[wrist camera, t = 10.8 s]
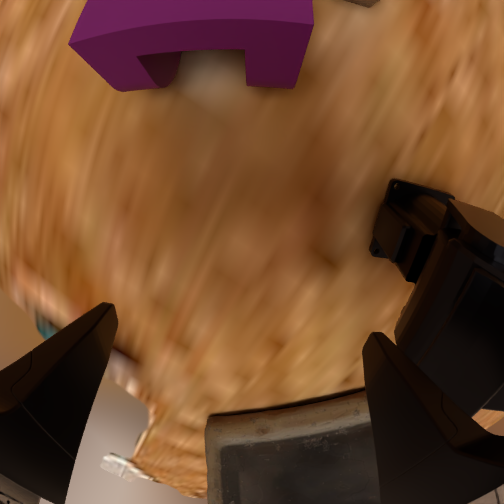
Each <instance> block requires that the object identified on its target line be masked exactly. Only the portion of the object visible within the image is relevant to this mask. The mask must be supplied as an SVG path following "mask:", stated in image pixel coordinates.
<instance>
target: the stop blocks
mask: <svg viewBox="0 0 504 504" xmlns="http://www.w3.org/2000/svg"><path fill="white" fill-rule="evenodd" d="M345 1H349V2H353V3H356V4H359V5H362V6H366V7H371V6H372V5H374V4H375V3H377V2H378V1H380V0H345Z"/></svg>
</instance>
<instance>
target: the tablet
mask: <svg viewBox="0 0 504 504" xmlns="http://www.w3.org/2000/svg"><path fill="white" fill-rule="evenodd" d="M205 453H206V463H207V470H208V471H207V483H208V488H207V499H208V504H381V501H380V490H379V488H380V487H379V478H378V469H377V461H376V453H375V446H374V439H373V432H372V426H371V419H370V413H369V407H368V402H367V396H366V390H364V391H361V392H358V393H355V394H351V395H348V396H344V397H340V398H336V399H332V400H327V401H323V402H319V403H314V404H309V405H304V406H298V407H292V408H286V409H279V410H268V411H263V412H258V413H249V414H242V415H233V416H213V417H210V418H208V419H207V425H206V428H205Z"/></svg>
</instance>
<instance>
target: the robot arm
mask: <svg viewBox="0 0 504 504" xmlns="http://www.w3.org/2000/svg"><path fill="white" fill-rule="evenodd" d="M396 183H398V186H397V187H396V188H394V185H395V184H396ZM373 235H374V236H373V239H372V242H371V245H370V249H369V251H370V253H371V255H372V256H374V257H380V258H388V259H390V261H391V262H392V263H395V264H396V266H397V267H398V269H399V270H400V272H401V273H402V275H403V277H404V278H405V280H406V281H407V282H413V284H414V285H415V287H414V289H413V291H412V293H411V295H410V297H409V300H408V302H407V304H406V305H405V306H404V307H403V309H402V311H401V315H400V317H399V319H398V321H397V323H396V327H395V330H394V334H395V340H396V344H397V345H395V344H394V343H393V342H392V341H391V340H390V339H389V338H388V337H387V336H386V335H385V334H383V333H382V332H372V333H371V334H370V335H369V337H368V339H367V341H366V343H365V345H364V347H363V350H362V356H363V367H364V380H365V390H366V396H367V402H368V407H369V413H370V419H371V426H372V432H373V439H374V446H375V453H376V461H377V469H378V478H379V487H380V488H379V490H380V501H381V504H504V436H498V435H494V434H492V433H490V432H488V431H486V430H485V429H484V428H483V427H481V426H480V425H479V424H478V423H477V422H476V421H474V420H473V419H472V417H473V416H474V415H475V414H476V413H477V412H478V411H479V410H480V409H486V410H495V411H504V219H502V218H501V217H499V216H498V215H496V214H495V213H493V212H490V211H487V210H484V209H481V208H478V207H475V206H472V205H469V204H466V203H463V202H460V201H457V200H455V197H454V196H453V195H451V194H450V193H446V192H443V191H440V190H436V189H433V188H429V187H426V186H422V185H419V184H415V183H411V182H408V181H404V180H400V179H392V180H391V181H390V183H389V186H388V190H387V193H386V197H385V201H384V203H383V204H382V205H381V207H380V211H379V214H378V218H377V221H376V224H375V227H374V230H373ZM375 249H378V250H377V251H375V252H374V250H375ZM117 328H118V318H117V314H116V309H115V306H114V304H112V303H107V302H102V303H101V304H99V305H97V306H96V307H94V308H93V309H91V310H90V311H88V312H87V313H85V314H84V315H82V316H81V317H79V318H78V319H76V320H75V321H73V322H72V323H70V324H69V325H68V326H66V327H65V328H63V329H62V330H60V331H59V332H57V333H56V334H54V335H53V336H51V337H50V338H49V339H47V340H46V341H44V342H43V343H41V344H40V345H38V346H37V347H36V348H34V349H33V350H32V351H30V352H28V353H27V354H26V355H24V356H23V357H21V358H20V359H18V360H17V361H15V362H14V363H12V364H11V365H9V366H7V367H6V368H4V369H3V370H1V371H0V504H39V502H40V498H41V497H42V498H43V499H46V500H48V501H50V502H52V503H54V504H65V500H66V496H67V491H68V487H69V483H70V479H71V475H72V471H73V468H74V464H75V460H76V456H77V453H78V449H79V446H80V443H81V439H82V436H83V433H84V430H85V426H86V423H87V420H88V417H89V414H90V411H91V408H92V405H93V402H94V399H95V397H96V394H97V391H98V388H99V385H100V383H101V380H102V377H103V375H104V372H105V369H106V367H107V364H108V361H109V357H110V353H111V350H112V346H113V342H114V339H115V335H116V331H117Z"/></svg>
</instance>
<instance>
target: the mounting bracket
mask: <svg viewBox="0 0 504 504" xmlns="http://www.w3.org/2000/svg"><path fill="white" fill-rule="evenodd" d="M313 26H314V20H313V6H312V0H88V1H87V3H86V5H85V7H84V9H83V11H82V13H81V15H80V17H79V19H78V22H77V24H76V26H75V29H74V31H73V33H72V36H71V38H70V41H69V43H68V45H69V46H70V47H71V48H72V49H74V50H75V51H76V52H77V53H78V54H79V55H80V56H81V57H82V58H83V59H84V60H85V61H86V62H87V63H88V64H89V65H90V66H91V67H92V68H93V69H94V70H95V71H96V72H97V73H98V74H99V75H100V76H101V77H102V78H104V79H105V80H106V81H107V82H108V83H109V84H110V85H111V86H112V87H113V88H114V89H116V90H118V91H121V92H126V91H134V90H143V89H153V88H165V87H167V86H168V85H170V83H171V82H172V81H173V79H174V77H175V75H176V72H177V69H178V65H179V61H180V56H181V51H190V50H215V49H241V50H245V65H246V84H247V86H257V87H274V88H286V89H293V88H294V87H295V84H296V81H297V78H298V75H299V72H300V68H301V65H302V62H303V58H304V55H305V52H306V49H307V45H308V42H309V39H310V36H311V32H312V29H313Z"/></svg>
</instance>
